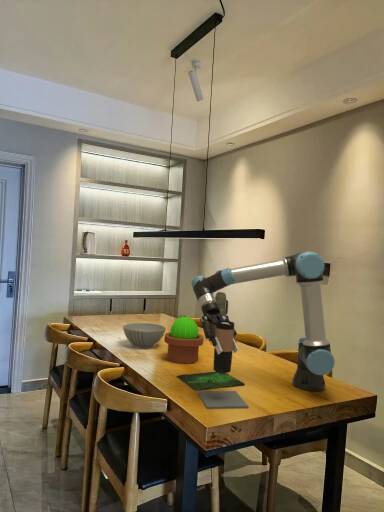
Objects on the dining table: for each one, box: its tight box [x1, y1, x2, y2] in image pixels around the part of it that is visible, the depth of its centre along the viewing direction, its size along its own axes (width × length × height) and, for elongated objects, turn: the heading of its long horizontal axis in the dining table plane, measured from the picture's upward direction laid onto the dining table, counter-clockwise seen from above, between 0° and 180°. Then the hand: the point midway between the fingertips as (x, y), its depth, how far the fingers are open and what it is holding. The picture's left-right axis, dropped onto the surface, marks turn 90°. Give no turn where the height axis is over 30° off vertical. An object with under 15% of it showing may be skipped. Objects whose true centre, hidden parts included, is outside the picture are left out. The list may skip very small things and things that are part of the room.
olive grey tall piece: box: [210, 291, 229, 344], centre depth 266 cm, size 9×12×35 cm
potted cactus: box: [163, 315, 204, 364], centre depth 218 cm, size 22×22×25 cm
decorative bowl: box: [122, 322, 167, 349], centre depth 244 cm, size 27×27×12 cm
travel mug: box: [213, 320, 235, 374], centre depth 160 cm, size 8×8×20 cm
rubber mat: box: [197, 390, 250, 410], centre depth 160 cm, size 17×17×1 cm
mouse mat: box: [176, 371, 245, 392], centre depth 184 cm, size 27×22×1 cm
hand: (228, 351), depth 157 cm, fingers closed on travel mug, 7 cm apart
